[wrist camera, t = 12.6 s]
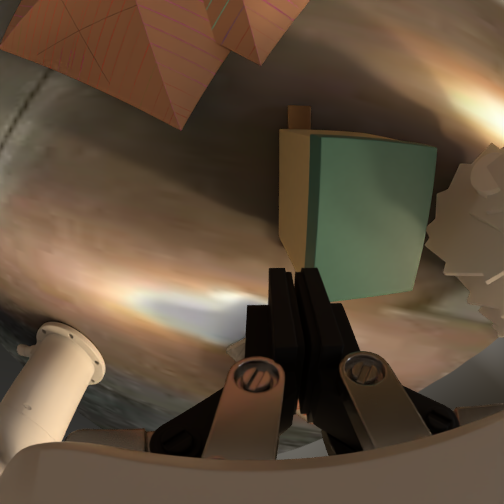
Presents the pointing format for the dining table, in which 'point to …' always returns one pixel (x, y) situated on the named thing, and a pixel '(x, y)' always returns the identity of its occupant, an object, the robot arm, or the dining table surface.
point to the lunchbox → (354, 208)
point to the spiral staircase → (474, 232)
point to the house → (147, 44)
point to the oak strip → (299, 117)
